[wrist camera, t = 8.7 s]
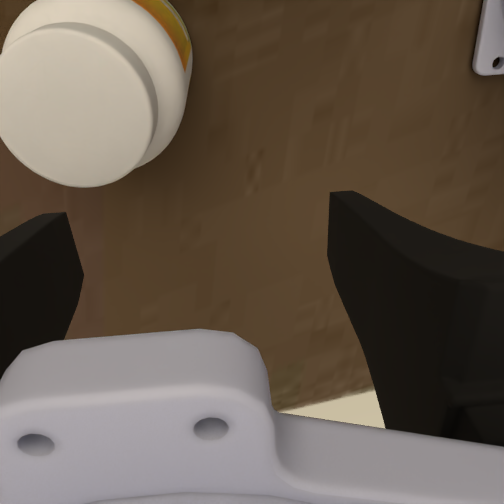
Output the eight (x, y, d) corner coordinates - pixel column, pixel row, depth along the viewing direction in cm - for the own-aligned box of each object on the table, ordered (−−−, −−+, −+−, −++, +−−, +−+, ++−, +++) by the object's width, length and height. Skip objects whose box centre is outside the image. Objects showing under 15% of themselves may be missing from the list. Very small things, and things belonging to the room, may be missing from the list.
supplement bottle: (54, -26, 18) (-77, -18, 10) (193, -16, 19) (179, 0, 10) (72, 113, 21) (-18, 210, 13) (193, 118, 22) (181, 215, 13)
